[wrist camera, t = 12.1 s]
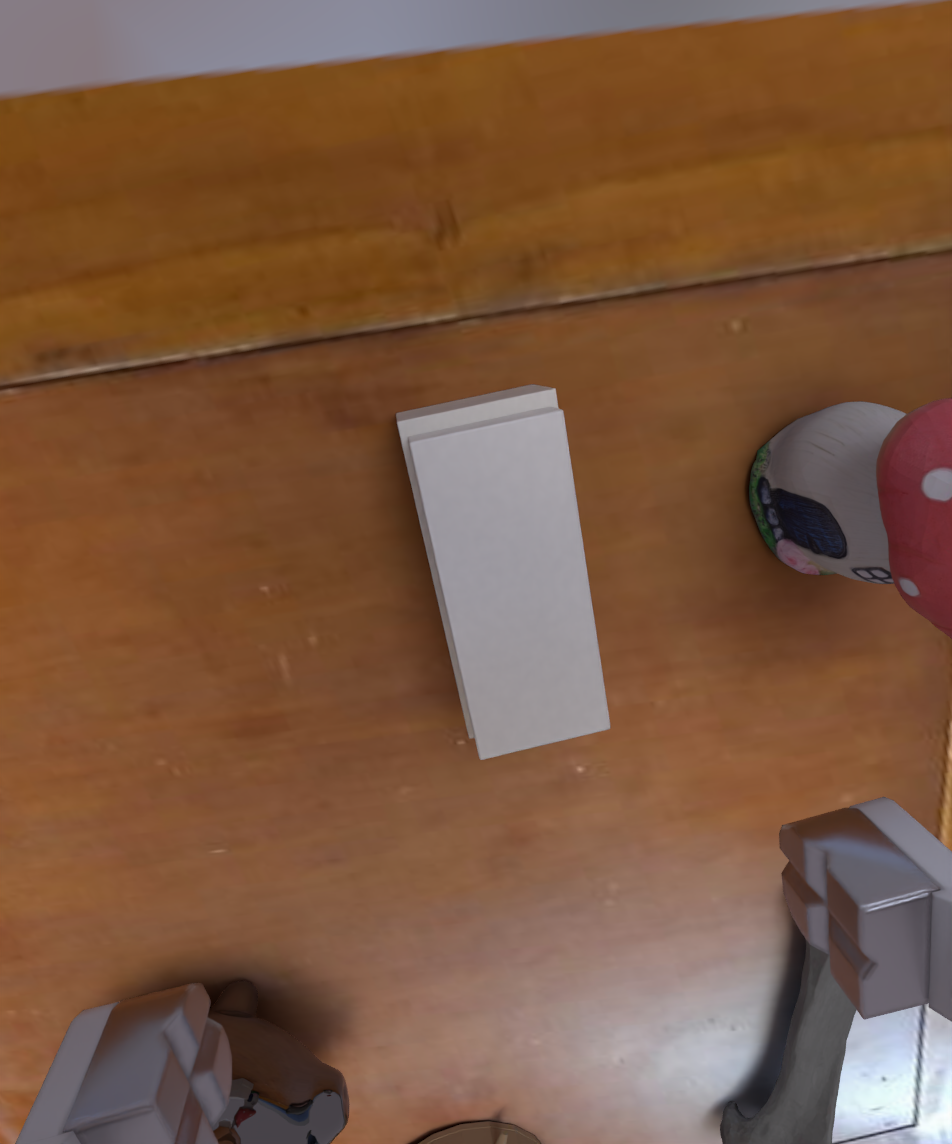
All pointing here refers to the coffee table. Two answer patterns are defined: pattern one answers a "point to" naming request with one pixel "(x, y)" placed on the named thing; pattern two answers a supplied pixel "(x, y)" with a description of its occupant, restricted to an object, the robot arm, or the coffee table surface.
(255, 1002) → the piggy bank
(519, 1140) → the alarm clock
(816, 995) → the bone
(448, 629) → the grey oblong block
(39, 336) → the coffee table surface
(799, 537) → the decorative ornament
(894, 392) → the coffee table surface
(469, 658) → the pale grey rectangular block
